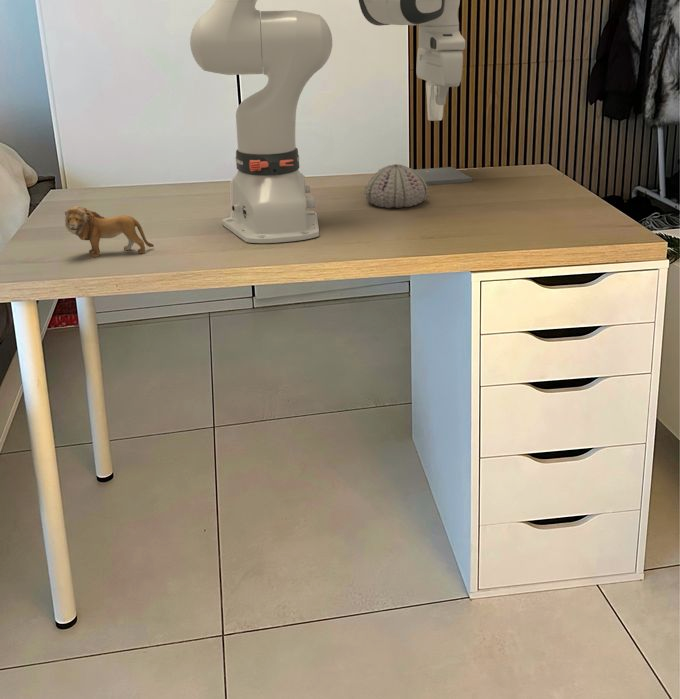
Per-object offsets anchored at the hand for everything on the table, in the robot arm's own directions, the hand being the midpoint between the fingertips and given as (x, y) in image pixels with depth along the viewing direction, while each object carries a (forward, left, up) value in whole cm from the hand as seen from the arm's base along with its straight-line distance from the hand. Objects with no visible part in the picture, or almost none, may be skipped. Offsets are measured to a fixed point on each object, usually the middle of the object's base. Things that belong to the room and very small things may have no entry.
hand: (436, 103), depth 207 cm
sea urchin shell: (-20, +16, -17) cm, 31 cm away
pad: (0, 0, -17) cm, 17 cm away
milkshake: (0, 0, -4) cm, 4 cm away
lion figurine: (-39, +75, -17) cm, 87 cm away
